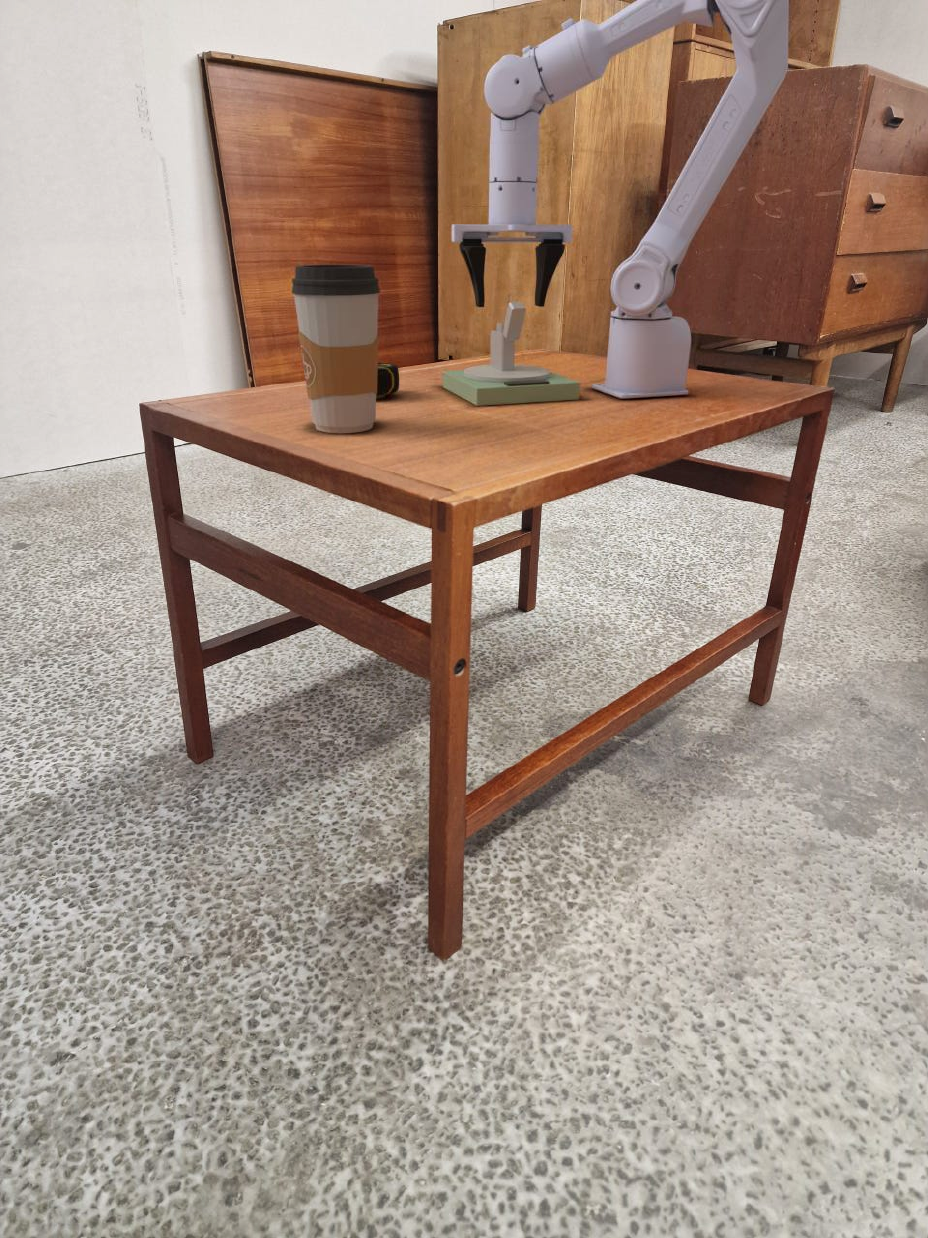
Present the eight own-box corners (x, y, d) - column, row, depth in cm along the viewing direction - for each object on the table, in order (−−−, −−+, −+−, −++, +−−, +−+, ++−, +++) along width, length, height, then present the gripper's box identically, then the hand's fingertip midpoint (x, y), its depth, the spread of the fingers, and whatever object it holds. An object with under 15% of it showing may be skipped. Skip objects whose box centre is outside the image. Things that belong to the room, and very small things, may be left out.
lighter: (489, 366, 101) (490, 298, 98) (502, 365, 102) (503, 298, 98) (510, 374, 95) (512, 302, 92) (523, 374, 96) (526, 302, 92)
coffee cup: (294, 421, 84) (281, 264, 77) (371, 415, 87) (364, 263, 80) (314, 439, 77) (300, 268, 70) (396, 431, 80) (391, 267, 73)
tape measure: (389, 389, 101) (387, 358, 99) (407, 399, 95) (406, 366, 93) (336, 393, 98) (334, 361, 96) (352, 403, 92) (350, 370, 91)
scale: (535, 381, 106) (536, 361, 105) (579, 399, 95) (580, 377, 94) (442, 386, 103) (442, 365, 102) (476, 406, 92) (476, 382, 90)
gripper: (458, 180, 90) (458, 309, 96) (582, 182, 92) (574, 308, 98) (448, 183, 96) (449, 304, 102) (565, 185, 98) (558, 303, 104)
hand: (509, 306), depth 101 cm, fingers open, 7 cm apart
